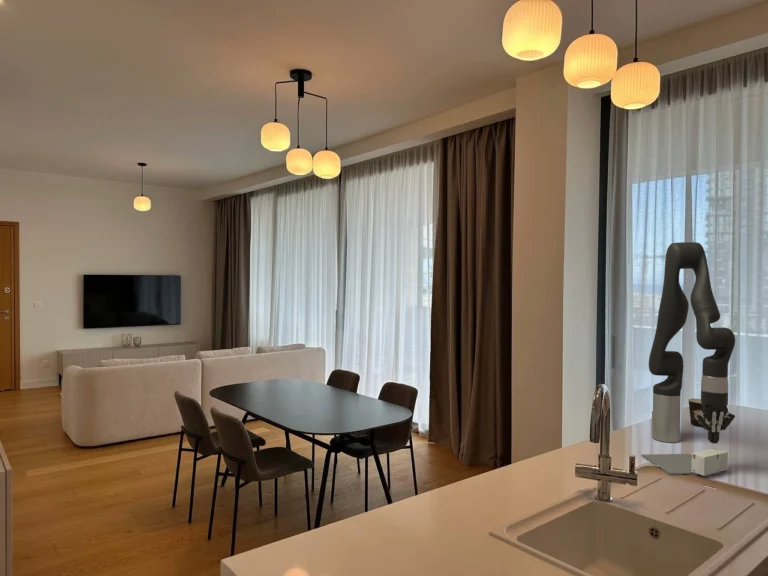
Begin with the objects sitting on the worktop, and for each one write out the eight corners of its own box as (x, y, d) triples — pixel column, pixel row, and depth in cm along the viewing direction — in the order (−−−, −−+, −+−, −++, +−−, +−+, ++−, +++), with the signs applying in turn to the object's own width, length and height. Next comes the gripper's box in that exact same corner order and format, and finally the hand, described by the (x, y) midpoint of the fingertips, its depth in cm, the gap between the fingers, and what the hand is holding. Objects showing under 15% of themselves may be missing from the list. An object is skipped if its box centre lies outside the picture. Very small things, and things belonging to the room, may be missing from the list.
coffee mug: (683, 423, 225) (683, 399, 225) (696, 421, 229) (697, 397, 228) (710, 431, 215) (710, 406, 214) (724, 428, 218) (724, 403, 218)
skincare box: (727, 470, 171) (705, 477, 166) (713, 465, 175) (690, 472, 170) (728, 450, 171) (705, 457, 165) (713, 446, 175) (691, 453, 169)
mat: (641, 456, 186) (641, 454, 186) (689, 455, 186) (689, 453, 186) (669, 475, 169) (669, 473, 169) (722, 474, 170) (722, 472, 169)
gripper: (726, 386, 179) (725, 438, 179) (687, 387, 178) (686, 439, 179) (742, 391, 171) (741, 446, 172) (702, 392, 170) (701, 447, 171)
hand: (713, 442), depth 175 cm, fingers closed
